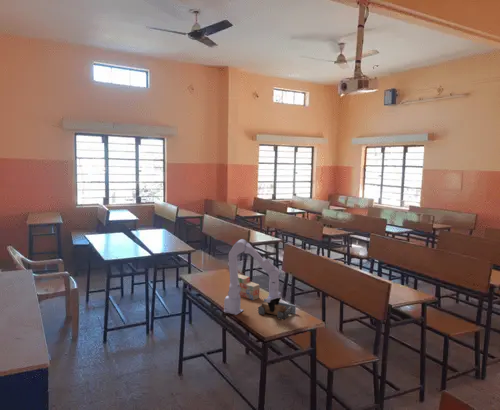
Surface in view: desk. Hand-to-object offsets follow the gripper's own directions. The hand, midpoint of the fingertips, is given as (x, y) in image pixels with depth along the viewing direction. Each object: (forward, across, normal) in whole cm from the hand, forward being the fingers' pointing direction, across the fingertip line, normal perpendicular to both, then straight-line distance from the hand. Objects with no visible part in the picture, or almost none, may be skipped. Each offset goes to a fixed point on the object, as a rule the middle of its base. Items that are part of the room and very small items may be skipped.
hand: (273, 310), depth 228 cm
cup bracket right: (+3, 0, -6) cm, 7 cm away
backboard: (+3, +6, 0) cm, 7 cm away
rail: (+2, 0, 0) cm, 2 cm away
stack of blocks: (+3, +19, +31) cm, 37 cm away
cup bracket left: (+3, 0, +6) cm, 7 cm away
